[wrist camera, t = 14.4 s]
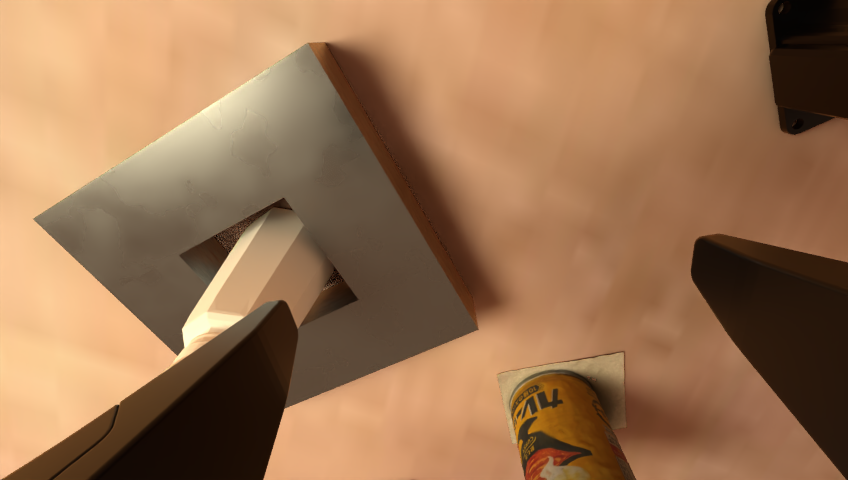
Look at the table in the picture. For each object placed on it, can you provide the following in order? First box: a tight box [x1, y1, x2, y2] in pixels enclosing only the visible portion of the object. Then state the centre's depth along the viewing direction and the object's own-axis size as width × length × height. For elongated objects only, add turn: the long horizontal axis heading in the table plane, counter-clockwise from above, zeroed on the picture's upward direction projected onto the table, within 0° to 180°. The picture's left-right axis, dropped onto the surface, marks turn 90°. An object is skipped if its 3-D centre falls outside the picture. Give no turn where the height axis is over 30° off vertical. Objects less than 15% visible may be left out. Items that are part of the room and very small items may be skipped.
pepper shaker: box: [161, 207, 334, 374], centre depth 18 cm, size 5×5×11 cm
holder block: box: [34, 42, 478, 409], centre depth 22 cm, size 16×16×3 cm
